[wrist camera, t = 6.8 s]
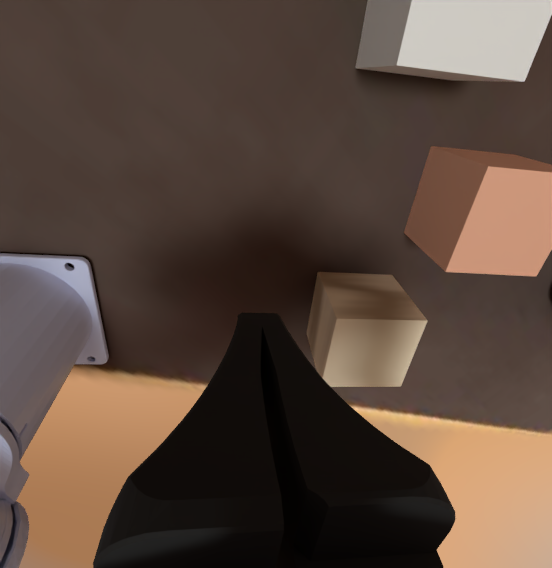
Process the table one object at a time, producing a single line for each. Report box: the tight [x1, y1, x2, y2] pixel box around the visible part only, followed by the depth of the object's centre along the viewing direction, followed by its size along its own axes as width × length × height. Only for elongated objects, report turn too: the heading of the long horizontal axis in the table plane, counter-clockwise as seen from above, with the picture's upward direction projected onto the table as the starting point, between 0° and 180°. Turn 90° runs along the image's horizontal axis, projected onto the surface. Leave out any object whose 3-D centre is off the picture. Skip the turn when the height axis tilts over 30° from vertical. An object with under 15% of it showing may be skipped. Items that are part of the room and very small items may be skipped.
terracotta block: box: [404, 146, 552, 276], centre depth 18 cm, size 5×5×5 cm
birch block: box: [307, 272, 427, 387], centre depth 21 cm, size 5×5×5 cm
